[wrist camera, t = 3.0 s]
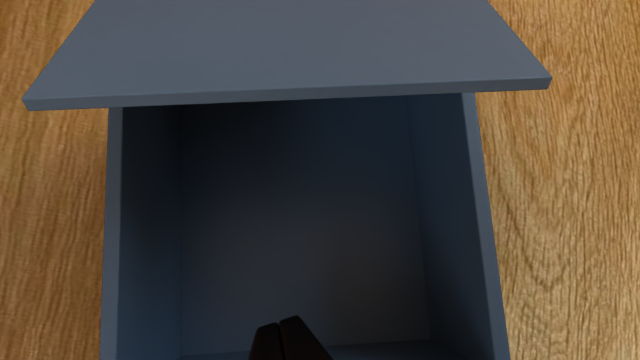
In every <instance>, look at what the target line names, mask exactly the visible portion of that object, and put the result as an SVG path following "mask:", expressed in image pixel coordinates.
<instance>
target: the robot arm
mask: <svg viewBox="0 0 640 360" xmlns="http://www.w3.org/2000/svg"><path fill="white" fill-rule="evenodd" d="M248 360H334V359H333V358H332V357H331V356H330V354H329V353H328V352H327V350H326V349H325V348H324V347H323V345H322V344H321V343H320V342H319V340H318V339H317V338H316V336H315V335H314V334H313V333H312V331H311V330H310V329H309V328H308V326H307V325H306V324H305V322H304V321H303V320H302V319H301V317H300V316H298V315H295V316H291V317H288V318H285V319H282V320H280V322H279V324H278V323H276V322H273V323H270V324H267V325H264V326H261V327H259V328H258V329H257V330H256V332H255V336H254V339H253V343H252V346H251V350H250V354H249V357H248Z"/></svg>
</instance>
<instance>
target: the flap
mask: <svg viewBox="0 0 640 360" xmlns="http://www.w3.org/2000/svg"><path fill="white" fill-rule="evenodd" d="M551 80H552V76H551V75H550V74H549V72H548V71H547V70H546V69H545V68H544V67H543V65H542V64H541V63H540V62H539V61H538V60H537V58H536V57H535V56H534V55H533V54H532V53H531V51H530V50H529V49H528V48H527V47H526V45H525V44H524V43H523V42H522V41H521V40H520V38H519V37H518V36H517V35H516V34H515V33H514V31H513V30H512V29H511V28H510V27H509V26H508V24H507V23H506V22H505V21H504V20H503V19H502V17H501V16H500V15H499V14H498V13H497V12H496V10H495V9H494V8H493V7H492V6H491V4H490V3H489V2H488V1H487V0H95V1H94V3H93V4H92V5H91V7H90V8H89V9H88V11H87V12H86V13H85V15H84V16H83V17H82V19H81V20H80V21H79V23H78V24H77V25H76V27H75V28H74V29H73V31H72V32H71V33H70V35H69V36H68V37H67V39H66V40H65V41H64V43H63V44H62V45H61V47H60V48H59V49H58V51H57V52H56V53H55V55H54V56H53V57H52V59H51V60H50V61H49V63H48V64H47V65H46V67H45V68H44V69H43V71H42V72H41V73H40V75H39V76H38V77H37V79H36V80H35V81H34V83H33V84H32V85H31V87H30V88H29V89H28V91H27V92H26V93H25V95H24V96H23V97H22V101H23V103H24V104H25V106H26V108H27V110H28V111H43V110H66V109H90V108H114V107H138V106H162V105H186V104H209V103H233V102H257V101H281V100H305V99H329V98H352V97H376V96H400V95H424V94H448V93H472V92H495V91H519V90H543V89H548V87H549V85H550V82H551Z"/></svg>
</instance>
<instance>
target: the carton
mask: <svg viewBox="0 0 640 360" xmlns="http://www.w3.org/2000/svg"><path fill="white" fill-rule="evenodd" d="M295 315H298V316H300V317H301V319H302V320H303V321H304V322H305V324H306V325H307V326H308V328H309V329H310V330H311V331H312V333H313V334H314V335H315V336H316V338H317V339H318V340H319V342H320V343H321V344H322V345H323V347H324V348H325V349H326V350H327V352H328V353H329V354H330V356H331V357H332V358H333V359H334V360H511V359H510V352H509V344H508V337H507V330H506V322H505V315H504V307H503V300H502V292H501V285H500V277H499V270H498V263H497V255H496V248H495V240H494V233H493V225H492V218H491V210H490V203H489V196H488V188H487V181H486V173H485V166H484V158H483V151H482V143H481V136H480V128H479V121H478V114H477V106H476V99H475V92H472V93H448V94H424V95H400V96H376V97H352V98H329V99H305V100H281V101H257V102H233V103H209V104H186V105H162V106H138V107H114V108H109V114H108V141H107V167H106V194H105V221H104V248H103V275H102V301H101V328H100V355H99V360H248V357H249V354H250V350H251V346H252V343H253V339H254V336H255V332H256V330H257V329H258V328H259V327H261V326H264V325H267V324H270V323H273V322H276V323H278V324H279V322H280V320H282V319H285V318H288V317H291V316H295Z"/></svg>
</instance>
